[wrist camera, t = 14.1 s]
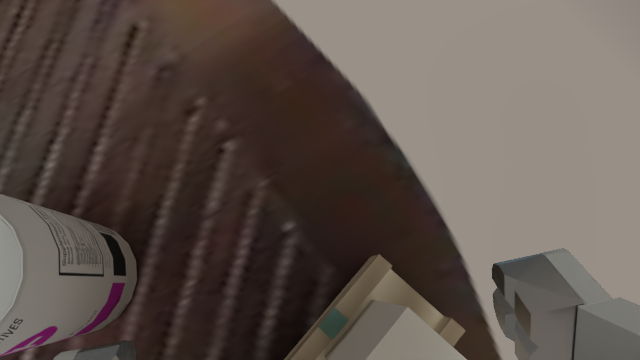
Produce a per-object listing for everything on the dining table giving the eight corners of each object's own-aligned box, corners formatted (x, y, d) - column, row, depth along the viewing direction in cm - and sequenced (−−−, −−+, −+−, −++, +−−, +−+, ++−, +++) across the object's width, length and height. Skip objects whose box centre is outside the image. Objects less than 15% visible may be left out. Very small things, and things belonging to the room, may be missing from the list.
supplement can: (133, 335, 35) (21, 374, 20) (19, 331, 34) (-181, 369, 20) (146, 227, 36) (52, 190, 22) (38, 222, 36) (-133, 181, 21)
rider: (324, 356, 31) (341, 389, 22) (371, 299, 32) (407, 306, 23) (369, 397, 31) (406, 450, 21) (415, 338, 32) (471, 363, 22)
